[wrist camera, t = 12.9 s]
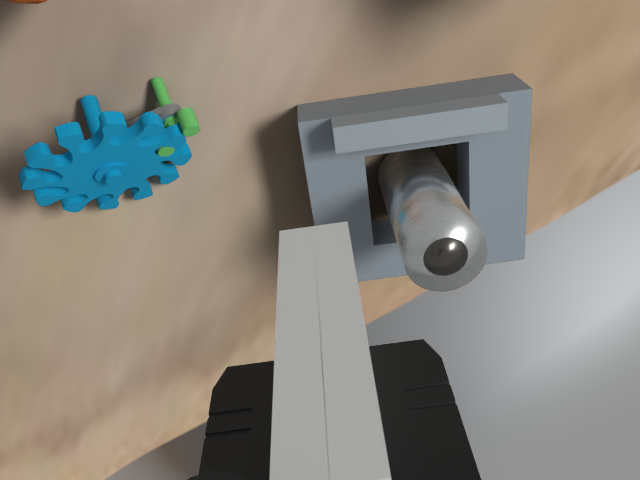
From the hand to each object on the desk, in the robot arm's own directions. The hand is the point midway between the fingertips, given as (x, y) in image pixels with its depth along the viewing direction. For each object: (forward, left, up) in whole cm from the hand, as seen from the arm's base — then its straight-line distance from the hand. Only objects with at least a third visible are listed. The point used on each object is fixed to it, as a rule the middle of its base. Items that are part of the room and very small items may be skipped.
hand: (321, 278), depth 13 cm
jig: (+6, -10, -26) cm, 29 cm away
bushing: (+6, -10, -26) cm, 29 cm away
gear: (-12, -5, -27) cm, 30 cm away
